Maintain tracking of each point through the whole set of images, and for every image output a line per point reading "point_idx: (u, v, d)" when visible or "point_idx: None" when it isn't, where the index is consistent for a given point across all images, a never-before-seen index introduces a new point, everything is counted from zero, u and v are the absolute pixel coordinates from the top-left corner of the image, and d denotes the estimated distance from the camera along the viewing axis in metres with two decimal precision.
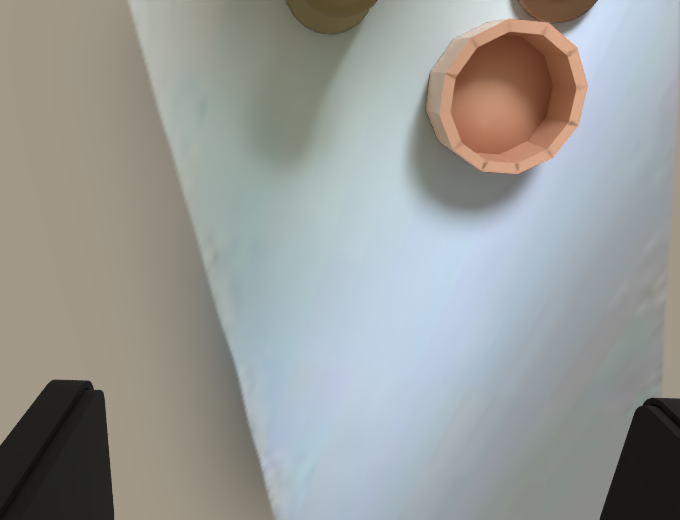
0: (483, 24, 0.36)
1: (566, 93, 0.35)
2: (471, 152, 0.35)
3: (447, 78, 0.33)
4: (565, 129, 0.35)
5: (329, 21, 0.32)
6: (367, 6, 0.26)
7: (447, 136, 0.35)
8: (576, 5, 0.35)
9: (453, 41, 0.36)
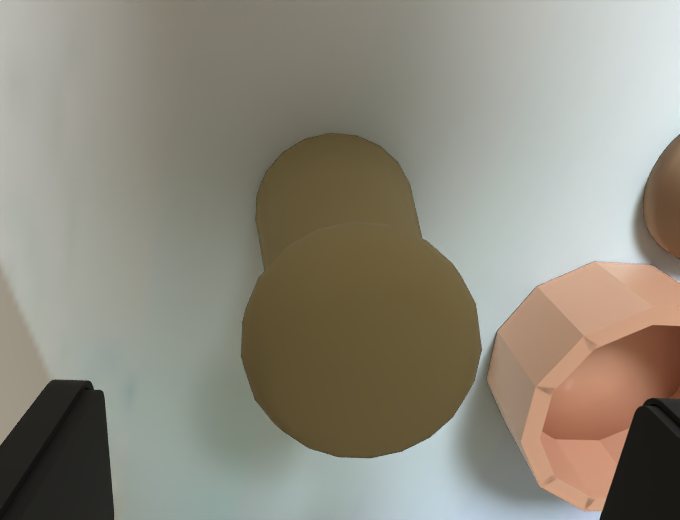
0: (588, 266, 0.22)
1: None
2: (569, 488, 0.21)
3: (538, 393, 0.19)
4: None
5: None
6: None
7: None
8: None
9: (539, 295, 0.22)
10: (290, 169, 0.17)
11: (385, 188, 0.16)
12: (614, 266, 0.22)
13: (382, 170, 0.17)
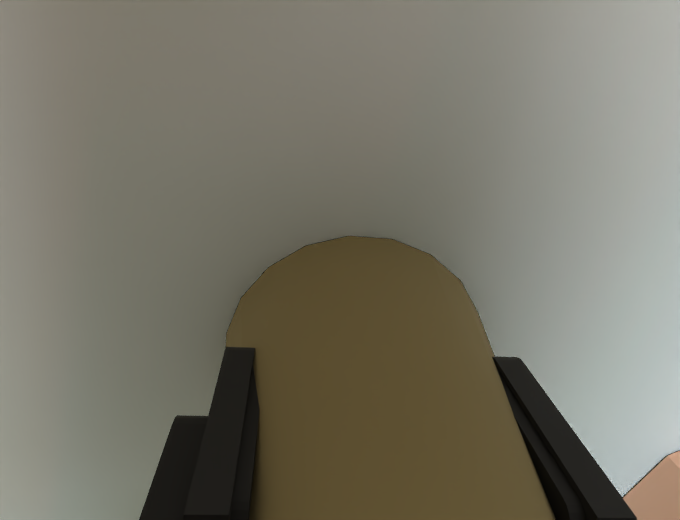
0: None
1: None
2: None
3: None
4: None
5: None
6: None
7: None
8: None
9: (676, 475, 0.14)
10: (279, 317, 0.10)
11: (469, 387, 0.08)
12: None
13: (449, 326, 0.09)
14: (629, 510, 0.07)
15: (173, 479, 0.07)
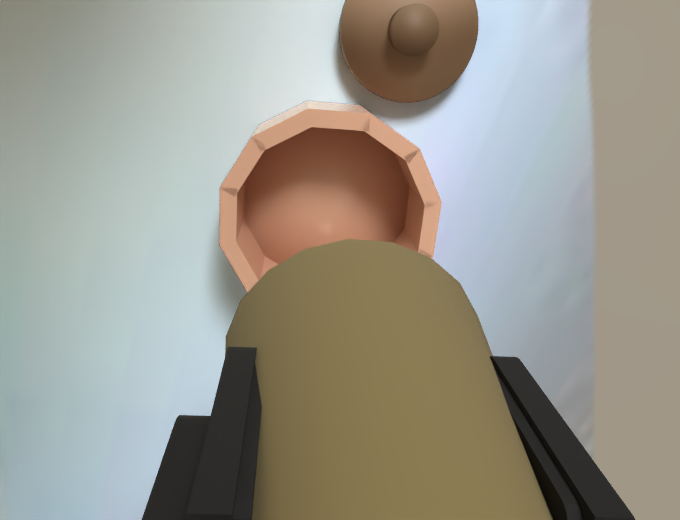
0: (300, 104, 0.25)
1: (417, 207, 0.24)
2: None
3: (224, 194, 0.22)
4: None
5: None
6: None
7: (238, 273, 0.23)
8: (446, 66, 0.24)
9: None
10: (279, 321, 0.10)
11: (469, 391, 0.08)
12: (320, 102, 0.24)
13: (449, 330, 0.09)
14: (626, 510, 0.07)
15: (176, 478, 0.07)
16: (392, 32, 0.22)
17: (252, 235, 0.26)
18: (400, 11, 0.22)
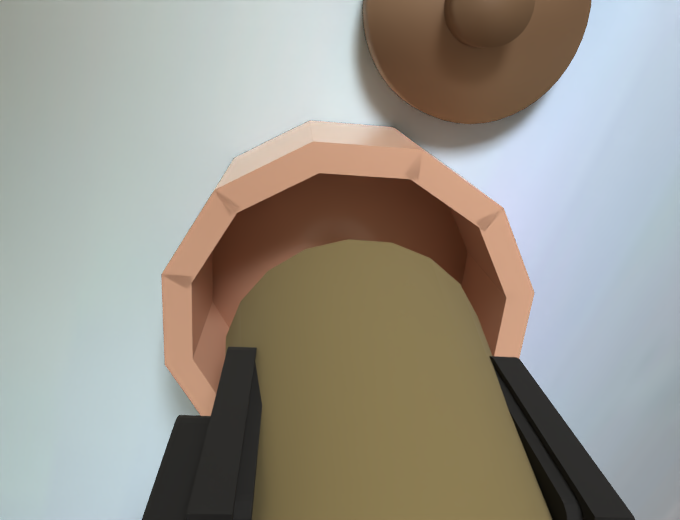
0: (299, 126, 0.15)
1: (488, 293, 0.15)
2: None
3: (170, 285, 0.13)
4: None
5: None
6: None
7: (197, 405, 0.14)
8: (542, 58, 0.15)
9: None
10: (279, 322, 0.10)
11: (468, 392, 0.08)
12: (332, 123, 0.15)
13: (448, 330, 0.09)
14: (626, 510, 0.07)
15: (175, 479, 0.07)
16: (456, 12, 0.13)
17: (226, 325, 0.17)
18: None
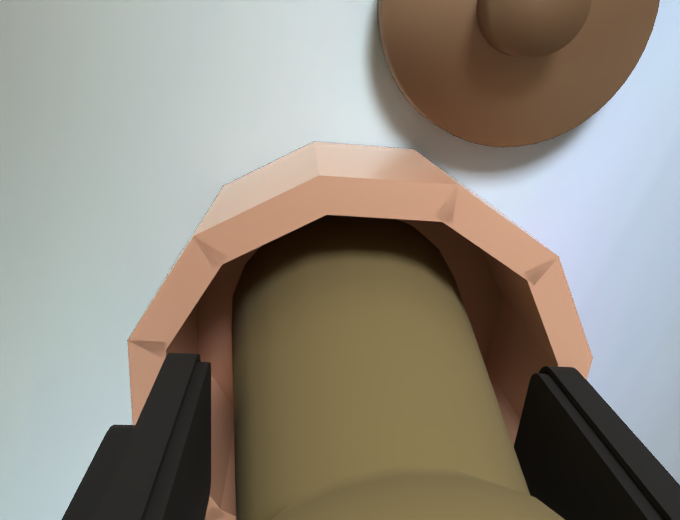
0: (301, 148, 0.13)
1: (530, 352, 0.12)
2: None
3: (139, 353, 0.10)
4: None
5: None
6: None
7: None
8: (603, 59, 0.12)
9: None
10: (279, 273, 0.11)
11: (436, 322, 0.09)
12: (340, 146, 0.13)
13: (424, 279, 0.11)
14: None
15: (96, 493, 0.07)
16: (493, 19, 0.11)
17: (214, 382, 0.14)
18: None
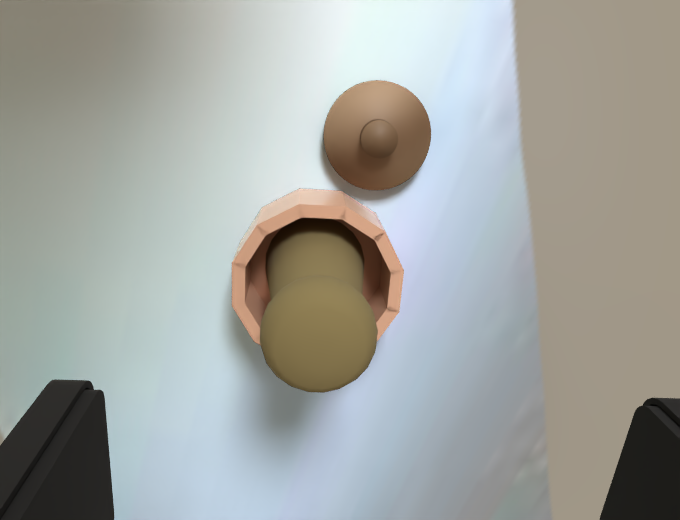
0: (294, 191, 0.31)
1: (387, 272, 0.31)
2: None
3: (235, 268, 0.29)
4: (384, 316, 0.30)
5: None
6: None
7: None
8: (414, 150, 0.30)
9: (259, 212, 0.31)
10: (285, 240, 0.30)
11: (339, 253, 0.28)
12: (310, 190, 0.31)
13: (339, 241, 0.29)
14: None
15: None
16: (363, 148, 0.29)
17: (257, 293, 0.33)
18: (363, 132, 0.29)
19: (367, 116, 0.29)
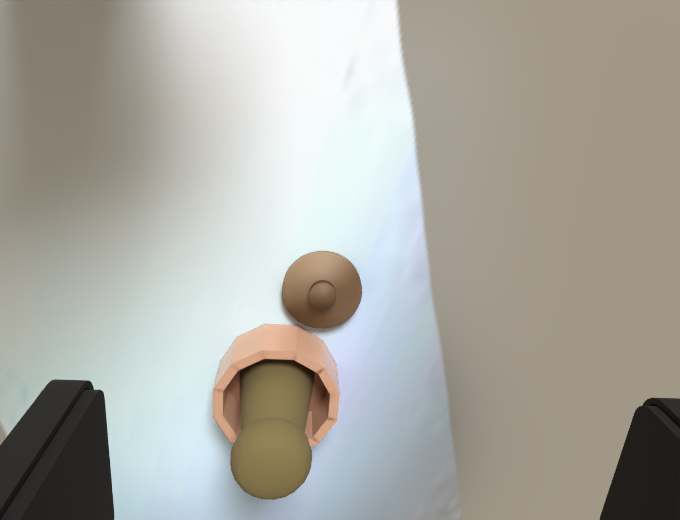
0: (261, 327, 0.42)
1: None
2: None
3: (216, 392, 0.39)
4: (326, 423, 0.41)
5: None
6: None
7: None
8: (351, 298, 0.41)
9: (234, 342, 0.42)
10: (253, 369, 0.40)
11: (290, 385, 0.38)
12: (273, 326, 0.42)
13: (292, 371, 0.40)
14: None
15: None
16: (311, 304, 0.40)
17: (233, 398, 0.43)
18: (310, 294, 0.39)
19: (312, 279, 0.40)
